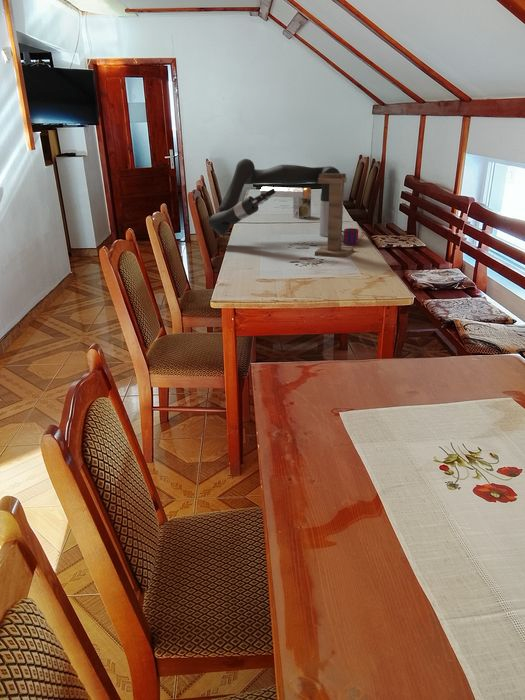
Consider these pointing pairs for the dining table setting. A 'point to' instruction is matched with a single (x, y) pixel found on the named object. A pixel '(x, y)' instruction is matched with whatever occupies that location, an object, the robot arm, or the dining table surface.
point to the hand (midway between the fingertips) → (275, 189)
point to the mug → (350, 236)
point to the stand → (334, 216)
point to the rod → (288, 192)
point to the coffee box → (301, 207)
